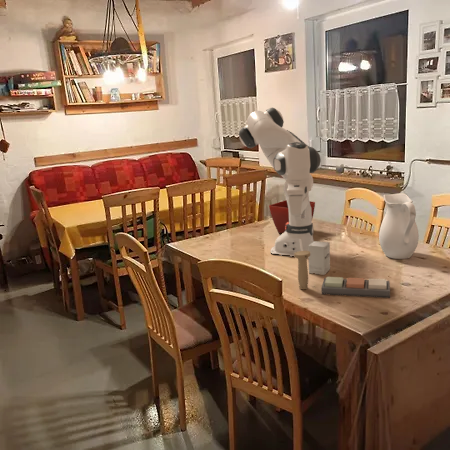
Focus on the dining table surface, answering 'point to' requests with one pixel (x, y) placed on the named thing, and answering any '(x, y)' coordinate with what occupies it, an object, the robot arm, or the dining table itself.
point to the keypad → (356, 290)
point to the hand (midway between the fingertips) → (300, 221)
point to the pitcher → (399, 227)
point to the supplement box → (319, 257)
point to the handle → (302, 268)
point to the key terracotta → (355, 283)
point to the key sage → (334, 282)
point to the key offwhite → (377, 284)
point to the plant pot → (283, 214)
